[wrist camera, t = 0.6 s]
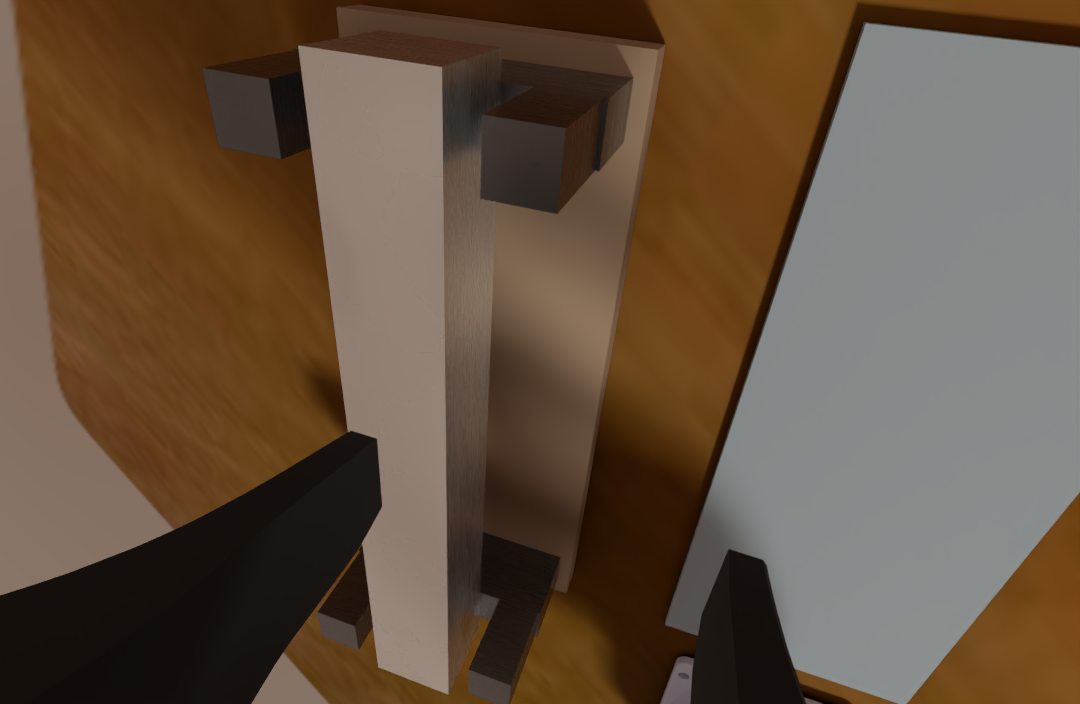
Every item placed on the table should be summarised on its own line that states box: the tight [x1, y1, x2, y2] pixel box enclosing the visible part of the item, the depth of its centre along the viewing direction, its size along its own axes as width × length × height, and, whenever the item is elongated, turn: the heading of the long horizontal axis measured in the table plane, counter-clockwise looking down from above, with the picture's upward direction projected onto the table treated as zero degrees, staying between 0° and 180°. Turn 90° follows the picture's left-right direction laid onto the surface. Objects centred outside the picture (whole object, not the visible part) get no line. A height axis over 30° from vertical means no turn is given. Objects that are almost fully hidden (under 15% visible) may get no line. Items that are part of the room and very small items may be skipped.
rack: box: [202, 5, 666, 704], centre depth 20 cm, size 22×9×7 cm, turn 175°
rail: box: [298, 30, 502, 695], centre depth 19 cm, size 22×3×3 cm, turn 175°
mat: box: [665, 22, 1080, 704], centre depth 20 cm, size 24×10×1 cm, turn 175°
